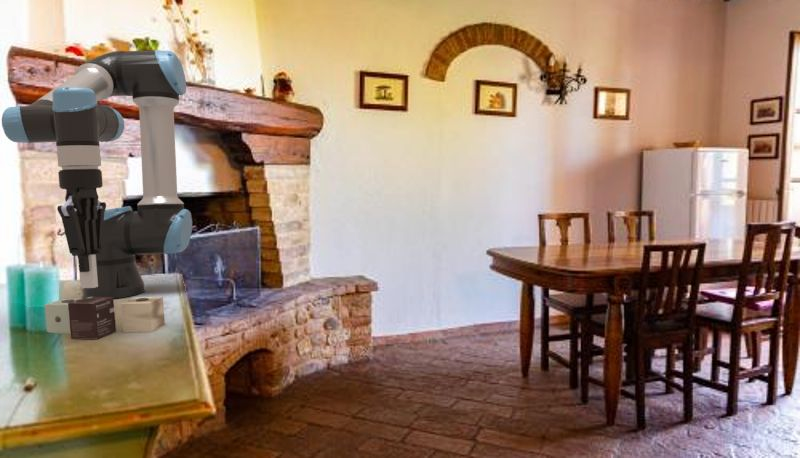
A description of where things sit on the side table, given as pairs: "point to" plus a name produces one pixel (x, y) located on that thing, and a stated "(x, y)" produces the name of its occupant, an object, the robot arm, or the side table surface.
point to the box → (91, 317)
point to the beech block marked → (142, 314)
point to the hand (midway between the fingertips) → (89, 287)
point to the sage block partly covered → (58, 316)
